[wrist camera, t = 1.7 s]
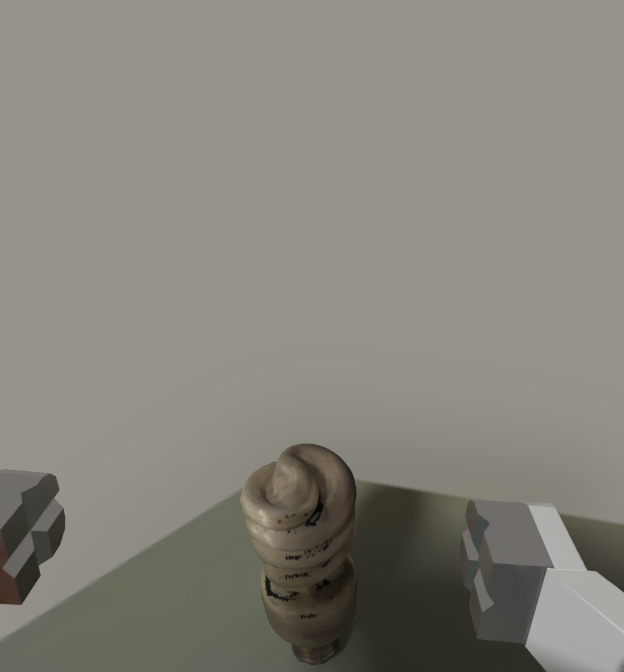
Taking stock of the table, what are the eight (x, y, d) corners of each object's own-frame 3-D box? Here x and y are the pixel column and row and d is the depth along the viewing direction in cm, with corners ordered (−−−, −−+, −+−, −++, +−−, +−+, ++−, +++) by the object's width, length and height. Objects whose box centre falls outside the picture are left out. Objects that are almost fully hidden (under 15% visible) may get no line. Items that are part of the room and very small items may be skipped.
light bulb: (297, 724, 29) (277, 530, 22) (247, 645, 33) (216, 458, 26) (376, 661, 32) (380, 470, 25) (321, 594, 36) (311, 413, 29)
